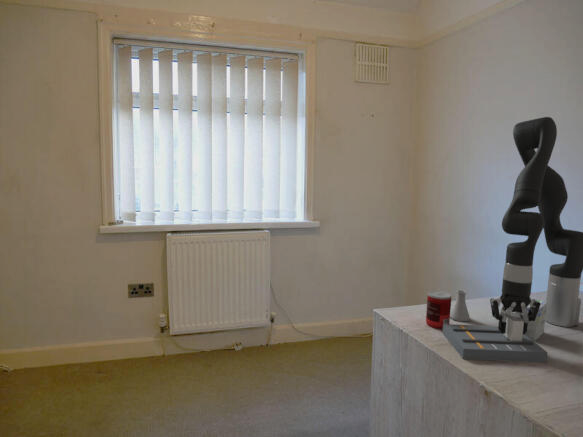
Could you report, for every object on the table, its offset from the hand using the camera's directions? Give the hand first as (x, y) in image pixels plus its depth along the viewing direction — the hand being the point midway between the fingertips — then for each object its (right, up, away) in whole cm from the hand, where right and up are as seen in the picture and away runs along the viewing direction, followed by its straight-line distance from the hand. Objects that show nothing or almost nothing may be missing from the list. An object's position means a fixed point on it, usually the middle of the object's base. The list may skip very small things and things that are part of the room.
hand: (512, 332), depth 121 cm
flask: (-6, -2, +24) cm, 25 cm away
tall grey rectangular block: (0, -1, 0) cm, 1 cm away
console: (-6, -4, +1) cm, 8 cm away
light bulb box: (+11, -4, +11) cm, 16 cm away
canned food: (-16, -2, +17) cm, 24 cm away
